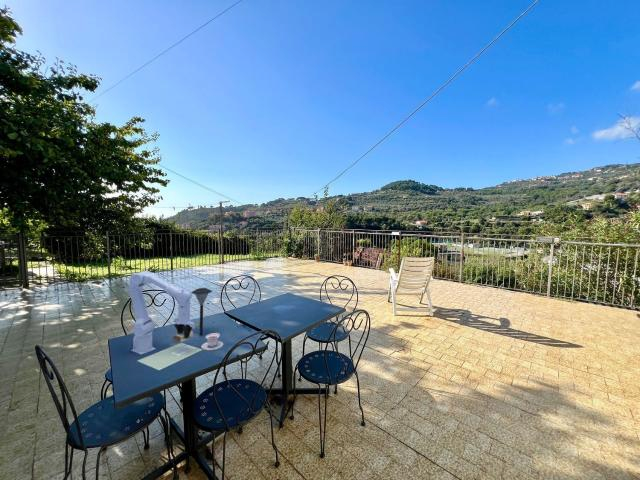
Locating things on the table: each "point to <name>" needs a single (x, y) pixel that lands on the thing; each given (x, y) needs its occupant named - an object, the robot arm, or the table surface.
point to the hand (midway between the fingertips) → (183, 337)
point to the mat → (169, 356)
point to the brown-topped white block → (181, 337)
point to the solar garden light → (201, 303)
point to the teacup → (212, 342)
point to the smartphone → (196, 325)
